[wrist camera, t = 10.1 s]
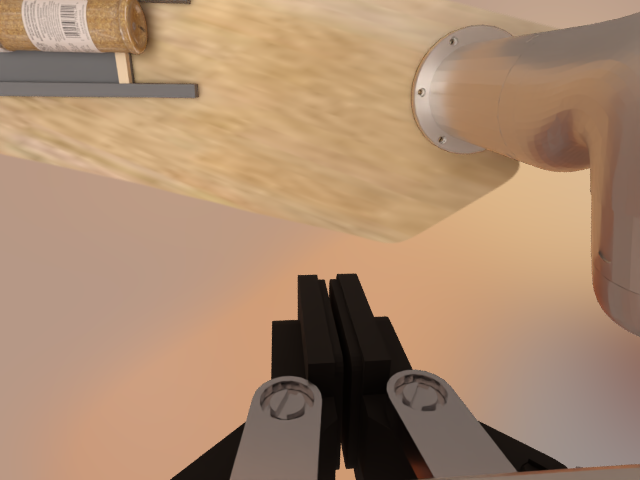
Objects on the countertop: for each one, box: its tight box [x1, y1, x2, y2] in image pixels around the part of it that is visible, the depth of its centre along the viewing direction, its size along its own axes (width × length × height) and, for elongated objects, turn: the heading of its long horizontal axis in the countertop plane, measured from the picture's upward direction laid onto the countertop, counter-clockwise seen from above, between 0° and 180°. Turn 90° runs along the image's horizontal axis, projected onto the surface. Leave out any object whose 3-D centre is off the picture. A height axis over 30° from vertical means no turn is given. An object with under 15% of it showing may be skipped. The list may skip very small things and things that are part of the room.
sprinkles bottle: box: [0, 0, 147, 54], centre depth 36 cm, size 5×5×13 cm
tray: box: [0, 0, 199, 98], centre depth 38 cm, size 22×9×3 cm, turn 89°
